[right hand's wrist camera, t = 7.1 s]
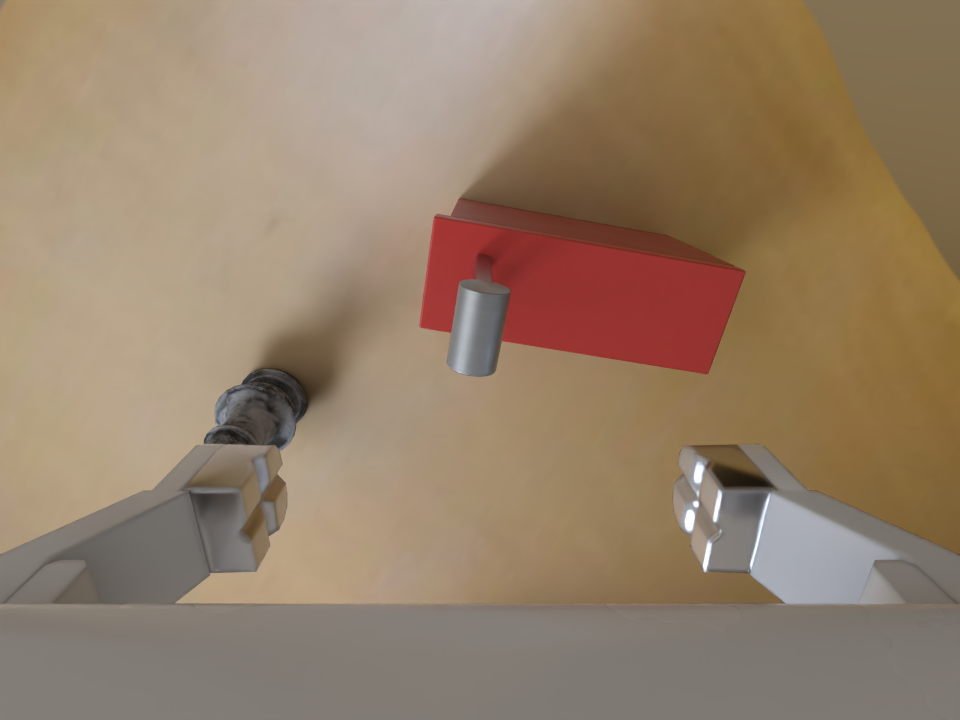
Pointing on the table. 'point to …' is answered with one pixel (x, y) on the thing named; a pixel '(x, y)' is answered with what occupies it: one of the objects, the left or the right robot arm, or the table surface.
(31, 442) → the table surface
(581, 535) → the table surface
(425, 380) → the table surface
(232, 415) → the grey chess bishop
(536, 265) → the lid
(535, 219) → the chest
